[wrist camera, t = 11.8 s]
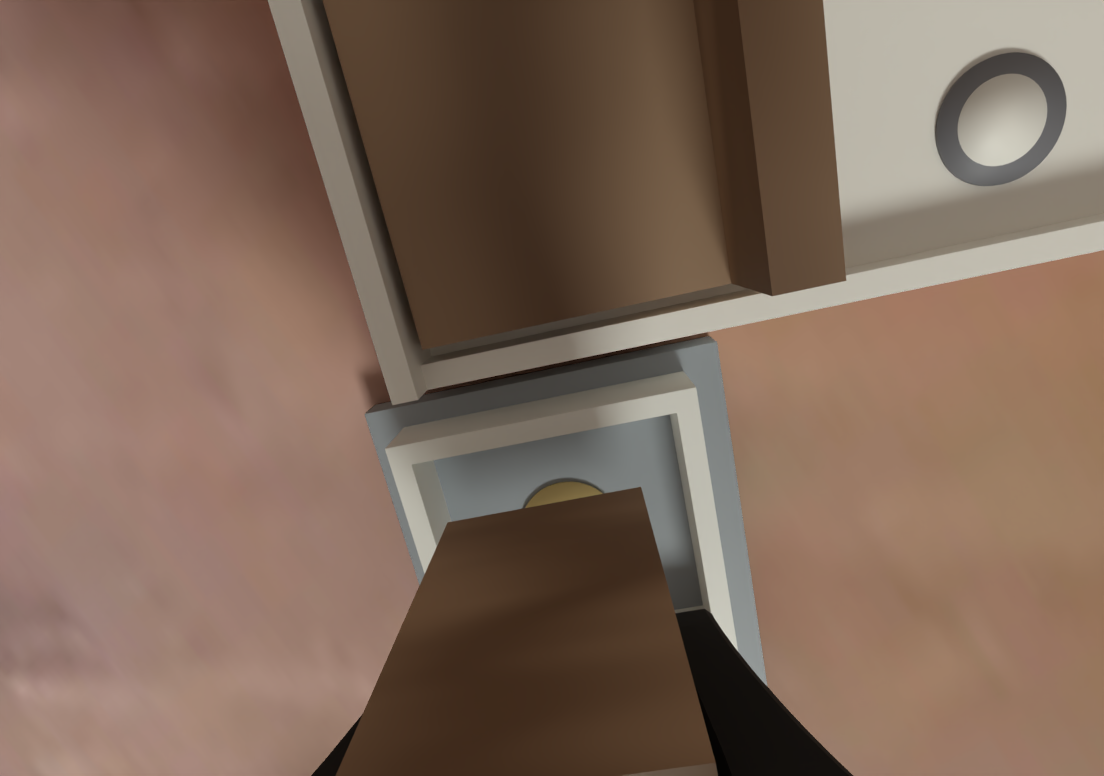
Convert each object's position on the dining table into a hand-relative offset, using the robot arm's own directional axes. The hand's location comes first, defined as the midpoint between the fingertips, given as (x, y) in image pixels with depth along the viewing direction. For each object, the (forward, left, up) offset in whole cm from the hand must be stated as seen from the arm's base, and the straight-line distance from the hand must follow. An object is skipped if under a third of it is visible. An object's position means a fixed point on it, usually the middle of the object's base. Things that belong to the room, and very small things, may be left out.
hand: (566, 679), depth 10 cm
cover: (-2, -10, -5) cm, 11 cm away
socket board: (0, +3, -6) cm, 7 cm away
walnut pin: (0, 0, -2) cm, 2 cm away
